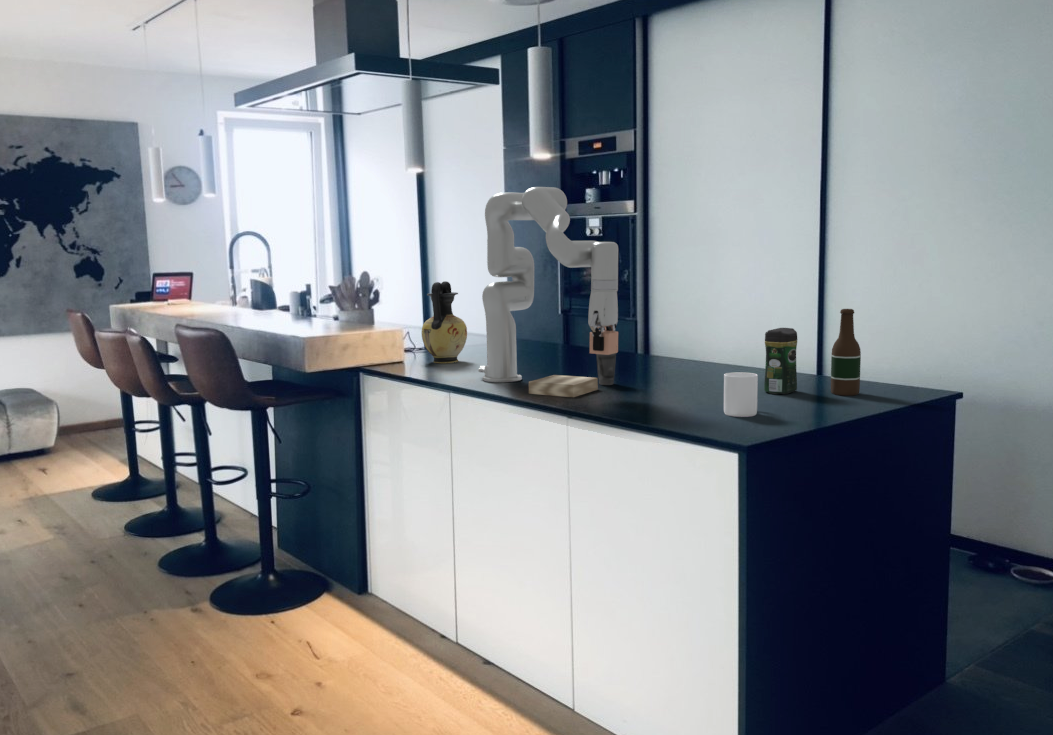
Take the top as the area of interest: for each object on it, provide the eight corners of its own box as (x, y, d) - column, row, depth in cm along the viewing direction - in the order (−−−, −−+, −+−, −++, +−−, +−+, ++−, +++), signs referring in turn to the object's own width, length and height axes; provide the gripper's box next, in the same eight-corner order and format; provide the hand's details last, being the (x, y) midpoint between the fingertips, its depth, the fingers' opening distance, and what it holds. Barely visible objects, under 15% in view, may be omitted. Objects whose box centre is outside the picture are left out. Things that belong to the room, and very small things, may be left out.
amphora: (427, 359, 355) (425, 280, 351) (471, 358, 354) (469, 280, 350) (418, 365, 338) (415, 283, 334) (463, 365, 336) (461, 282, 332)
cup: (718, 415, 235) (718, 375, 233) (737, 407, 244) (738, 369, 243) (748, 418, 230) (749, 377, 228) (767, 410, 239) (768, 371, 238)
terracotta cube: (589, 353, 263) (589, 332, 262) (599, 350, 268) (599, 330, 267) (608, 354, 260) (608, 333, 259) (617, 352, 265) (618, 331, 264)
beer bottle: (859, 391, 264) (861, 308, 261) (859, 396, 257) (862, 310, 254) (830, 390, 267) (832, 307, 264) (830, 395, 260) (832, 310, 256)
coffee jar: (776, 388, 273) (777, 325, 270) (800, 391, 267) (802, 327, 265) (759, 392, 266) (760, 328, 263) (784, 395, 261) (785, 330, 258)
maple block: (528, 395, 272) (528, 381, 272) (554, 387, 285) (554, 374, 285) (573, 398, 265) (573, 385, 264) (597, 391, 277) (597, 377, 277)
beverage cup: (616, 385, 283) (616, 320, 280) (593, 385, 284) (592, 320, 282) (619, 382, 290) (618, 318, 287) (596, 381, 292) (595, 318, 289)
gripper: (606, 283, 270) (605, 344, 273) (578, 287, 256) (577, 351, 259) (629, 284, 266) (628, 346, 269) (602, 288, 252) (601, 353, 255)
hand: (603, 348), depth 264 cm, fingers closed on terracotta cube, 6 cm apart
